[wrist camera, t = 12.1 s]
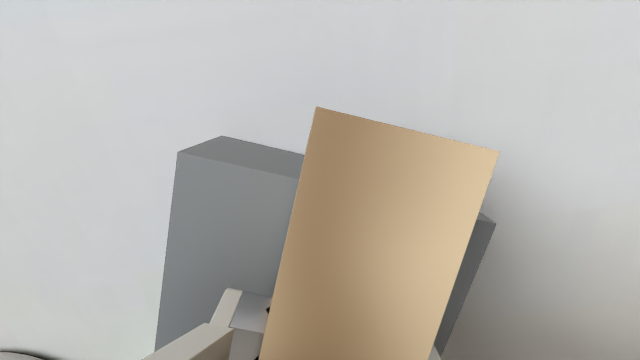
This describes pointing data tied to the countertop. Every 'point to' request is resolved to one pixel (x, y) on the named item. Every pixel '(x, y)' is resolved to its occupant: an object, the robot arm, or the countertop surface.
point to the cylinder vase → (16, 356)
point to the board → (248, 233)
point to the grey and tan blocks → (373, 241)
